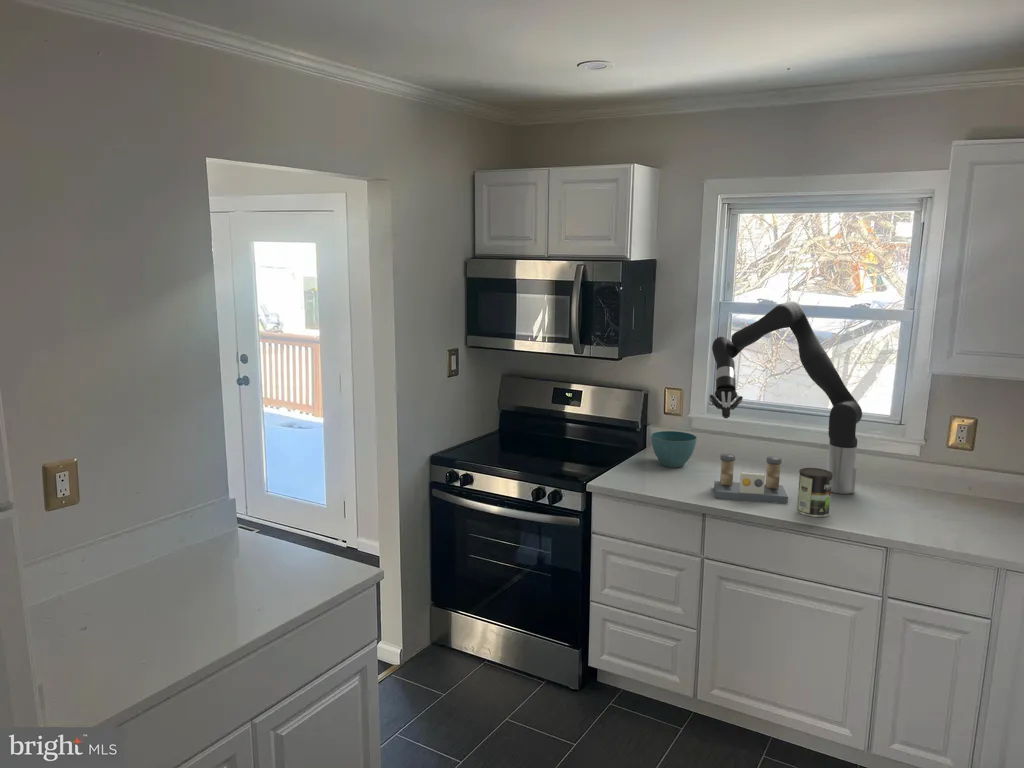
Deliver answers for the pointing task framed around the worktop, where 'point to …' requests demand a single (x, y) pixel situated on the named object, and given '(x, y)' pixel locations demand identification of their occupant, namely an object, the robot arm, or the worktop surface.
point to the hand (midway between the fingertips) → (726, 417)
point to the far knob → (727, 469)
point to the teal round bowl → (673, 447)
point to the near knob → (773, 472)
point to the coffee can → (814, 492)
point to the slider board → (750, 490)
